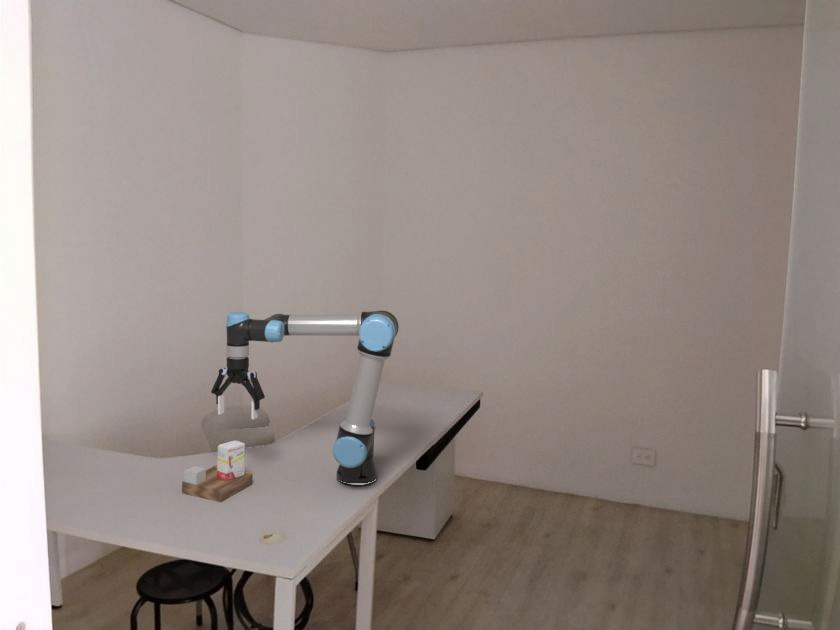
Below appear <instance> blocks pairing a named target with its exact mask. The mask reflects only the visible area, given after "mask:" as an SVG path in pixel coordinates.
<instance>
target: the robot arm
mask: <svg viewBox="0 0 840 630" xmlns="http://www.w3.org/2000/svg"><path fill="white" fill-rule="evenodd" d="M225 327H226V367H222V368H220V369H219V370H218V375H217V378H216V380H215V382H214V384H213V385H212V389H211V391H210V392H211V394H212V395H213V394H214V395H215V397H216V399H215V400H216V401H215V403H216V405H217V415H222V414H224V413H225V394H224V392H225V391H227V390H226V389H228V387H230V385H231V384H238V385H242V386H243V387H244V388H245V389H246V391H247V393H248V394H249V395H250V397H251V399H252V401H251V420H256V419H257V418H258V414H259V413H258V411H259V410H260V403H261V402H260V401H261V400H264V399H265V397H266V396H265V394H264V390H263V389H262V387H261V384H260V381H259V379H258V373H257V372H256V371H251V372H250V371H249V367H250V358H249V355H250V342H264V343H265V342H266V343H272V344H273V343H280V342H282V341H283V339H284V337H285V336H287V337H288V336H326V337H327V336H345V337H347V336H349V337H350V336H351V337H353V336H354V337H355V336H356V337H357V336H358V338H359V339H358V343H357V348H356V350H357V352H358V353H359V360H358V363H357V368H356V372H355V377H354V382H353V385H352V390H351V395H350V400H349V403H348V408H347V413H346V417H345V418H344V419H343V421H342V422H340V423H339V427H338V428H339V429H338V432H337V437H336V441H335V442H334V444H333V447H332V455H333V458H334V460H335V461H336V462H337V464H338V467H337V470H336V474H335V475H336V478H337V479H338V480H340V481H342V482H346V483H368V482H372V481H374V480H375V479H376V478H377V479H378V470H377V466H376V464H375V460H374V452H375V451H374V450H375V433H376V432H375V430H376V425H375V424H376V423H375V420H374V419H372V417H373V413H374V412H373V411H374V409H375V404H376V400H377V395H378V390H379V386H380V383H381V378H382V374H383V368H384V365H385V361H386V360H387V359H389V358H390V357H391V355H392V351H393V345H394V342H395V338H396V337H397V336H398V332H399V328H400V327H399V321H398V319H397V317H396V316H395V315H394V314H393V313H392V312H389V311H387V310H375V311H374V310H373V311H360V313H358V314H284V313H274V314H272V315H270V316H269V317H266V318H265V319H254V318H253V319H252V318H250V314H249V313H247V312H243V311H235V312H233V311H232V312H229V313H228V314H227V316H226V326H225ZM226 368H227V369H226ZM226 375H227V378H226V380H225V377H226ZM224 380H225V381H224ZM223 381H224V383H223ZM222 383H223V384H222ZM337 479H336V480H337ZM338 480H337V481H338Z"/></svg>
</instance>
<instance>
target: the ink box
mask: <svg viewBox="0 0 840 630" xmlns="http://www.w3.org/2000/svg"><path fill="white" fill-rule="evenodd" d="M245 447H246V443H245V442H242V441H239V440H231V441H228V442H225V443H221V444H218V446H217V463H216V464H217V465H216V466H217V478H219V479H221V480H224V481H228V480H231V479H234V478H237V477H240V476H242V475H244V471H245V464H246V463H245V460H246V459H245V456H246V453H245V452H246V451H245V450H246V448H245Z"/></svg>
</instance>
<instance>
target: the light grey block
mask: <svg viewBox="0 0 840 630" xmlns="http://www.w3.org/2000/svg"><path fill="white" fill-rule="evenodd" d="M206 470H207V468H206V467H200V466H195V465H193V466H191V467H190V468H189V467H188V468H187V469H185V470H184V471H183V472H184V476H183V477H184V478H183V480H184V482H187V483H192V484H196V485H197V484H199V483H200V482H202V481H204V480H206Z"/></svg>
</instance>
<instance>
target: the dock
mask: <svg viewBox="0 0 840 630" xmlns="http://www.w3.org/2000/svg"><path fill="white" fill-rule="evenodd" d="M253 478H254V476H253V472H249V471H245V470H244V475H242V476H240V477H237V478H234V479H231V480H228V481H224V480H221V479H219V478H217V465H215V464H214V465H213V466H212V467H210V468H207V469H206V480H204V481H202V482H200V483H199V484H197V485H196V484H192V483H187V482H184V481H182V482H181V494H183V495H187V496H188V495H189V496H193V497H197V498H202V499H204V500H210V501H213V502H214V501H215V502H217V503H222V502H224V501H227V500H228V499H230V498H231V497H233V496H234V495H236V494H238V493H240V492H241V491H244V490H245V489H247V488H249V487H250V486H252V485H253Z"/></svg>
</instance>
